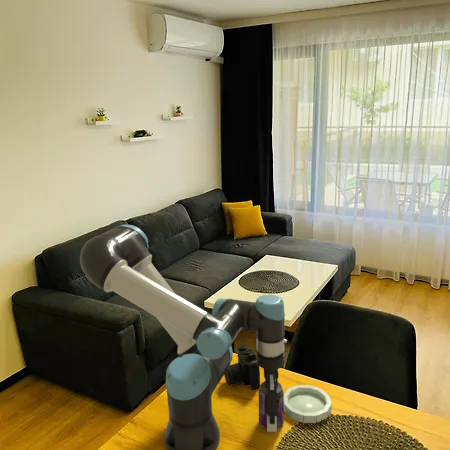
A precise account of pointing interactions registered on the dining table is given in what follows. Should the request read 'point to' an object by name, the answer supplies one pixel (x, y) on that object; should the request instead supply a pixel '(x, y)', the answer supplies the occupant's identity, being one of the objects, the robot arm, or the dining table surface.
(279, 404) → the beverage can
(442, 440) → the dining table surface
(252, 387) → the camera
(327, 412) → the tray
